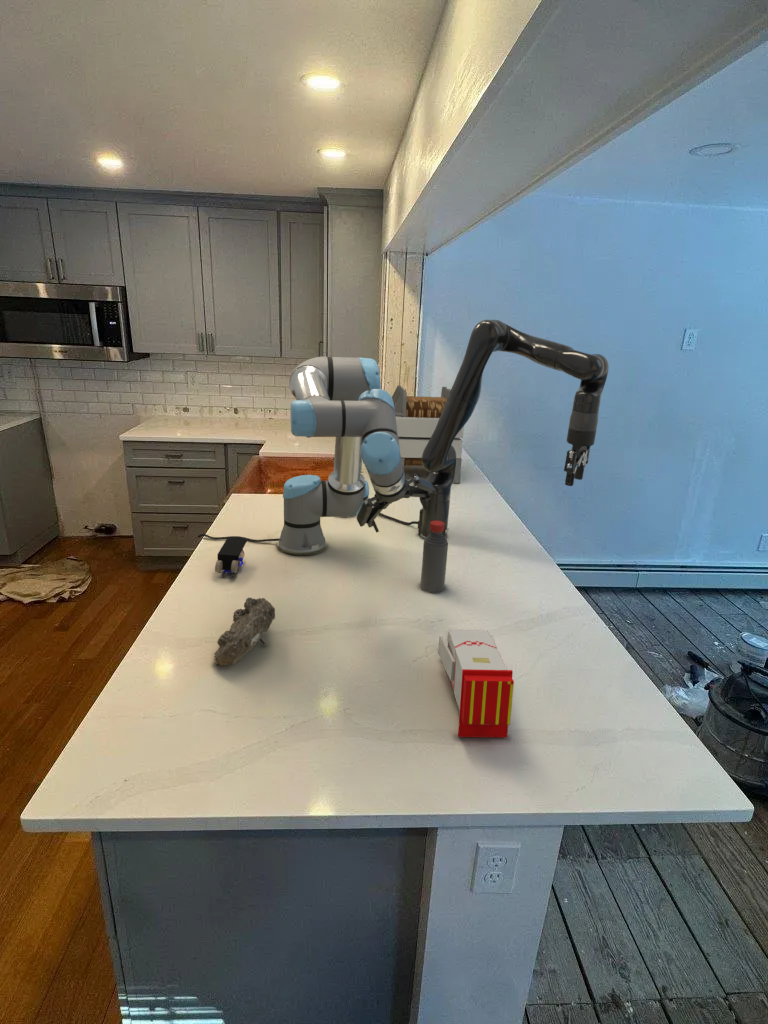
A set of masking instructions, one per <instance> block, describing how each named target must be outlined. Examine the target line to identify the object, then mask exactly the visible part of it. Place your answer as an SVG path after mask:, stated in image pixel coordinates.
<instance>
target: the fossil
mask: <svg viewBox="0 0 768 1024" xmlns="http://www.w3.org/2000/svg"><path fill="white" fill-rule="evenodd" d="M243 607H244V608H238V609H235V610H234V612H233V615H232V621H233V623H232V624H231V625H230V627H229V630H225V631H224V633H222V634H221V635H220V636H219V637H218V639H217V645H218V646H219V647H218V648H217V650H215V652H214V663H215V664H216V665H220V666H221V667H225V666H228V665H232V664H236V663H237V662H238V661H240V659H241V658H243V657H244V656H245V655H247V653H248V652H249V651H251V650H252V649H253V648H254V647H255V646H256V644H257V642H258V641H259V642H261V644H262V645H265V644H266V642H264V640H263V638H262V636H263V635H264V634H265V633H267V632H268V630H269V629H270V627H271V624H272V623H273V621H274V620H275V618H276V609H275V607H274V606H273V605H272V603H271V602H269V601H268V600H267V599H266V598H264V597H261V598H260V597H259V598H253V597H247V598H246V599H245V602H244V604H243Z"/></svg>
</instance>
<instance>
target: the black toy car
mask: <svg viewBox="0 0 768 1024" xmlns="http://www.w3.org/2000/svg"><path fill="white" fill-rule="evenodd" d="M247 542H248V540H247V539H241V538H227V539H225V541H224V543H223V544H222V546H221V547H220V549H219V551H218V552H217V560H216V562H215V564H214V572H215V573H221V577H222V578H224V577H225V576H226V574H227V573H230V574H231V573H232V574H231V578H234V577H235V575H236V573H237V572H239V571H240V567H242V566H243V565H244V564H245V562H244V558H245V551H244V547H245V546H246V544H247Z"/></svg>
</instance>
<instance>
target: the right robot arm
mask: <svg viewBox="0 0 768 1024" xmlns="http://www.w3.org/2000/svg"><path fill="white" fill-rule="evenodd" d="M467 343H468V344H467V347H466V350H465V354H464V357H463V360H462V363H461V364H460V367H459V370H458V372H457V374H456V377H455V379H454V382H453V384H452V386H451V387H450V390H451V391H450V393H449V395H448V398H447V400H446V403H445V406H444V408H443V411H442V413H441V416H440V418H439V421H438V423H437V426H436V428H435V430H434V432H433V434H432V436H431V438H430V440H429V442H428V444H427V445H426V447H425V449H424V451H423V454H422V464H423V466H422V467H423V468H424V470H425V471H427V472H428V473H429V474H428V476H427V477H426V478H425V480H427V481H429V482H431V483H432V485H433V486H434V488H435V490H436V491H435V492H434V493H430V494H429V495H430V497H431V498H430V499H429V500H427V501H426V504H427V509H426V510H424V508H423V506H421V508H420V509H419V516H418V520H416V521H415V520H412V521H409V522H408V521H403V520H401V519H398V518H395V517H394V516H393V517H392V516H389V515H387V514H384V513H382V512H380V513H379V515H378V516H381V517H383V518H385V519H388V520H391V521H394V522H397V523H399V524H402V525H406V526H411V525H417V535H418V536H420V538H421V539H424V540H425V538H426V537H427V536H428V535H429V534H431V532H432V531H431V530H430V523H431V521H442V522H444V531H443V532H441V533H442V534H443V535H444V537H445V538H446V539H447V538H448V532H449V527H448V525H449V517H450V516H449V514H450V504H451V494H452V493H451V491H452V485H453V484H454V483H453V481H454V476H455V468H456V451H455V449H454V447H453V446H452V445H451V444H452V442H453V440H454V438H455V437H456V435H457V434H458V433H459V431H460V430H461V429H462V428H463V426H464V427H465V425H466V424H467V423H468V421H469V420H470V418H471V417H472V415H473V414H474V411H475V409H476V407H477V404H478V402H479V400H480V397H481V392H482V381H483V375H484V371H485V368H486V366H487V364H488V362H489V359H490V358H491V356H492V354H493V353H495V352H505V353H511V354H515V355H518V356H521V357H524V358H526V359H528V360H530V361H531V362H533V363H535V364H538V365H540V366H542V367H545V368H549V369H552V370H555V371H559V372H562V373H564V374H566V375H568V376H571V377H573V378H575V379H577V380H580V383H579V387H578V389H577V390H576V391H575V394H574V397H573V403H572V410H571V414H570V417H569V422H568V429H567V436H566V442H567V444H569V445H571V446H572V447H571V449H570V450H569V449H568V450H567V451H566V456H565V462H564V468H563V471H564V472H565V473H566V475H565V481H564V485H565V486H567V487H573V486H574V483H575V480H579V481H582V480H583V478H584V472H585V468H586V467H587V465H588V463H589V458H590V451H591V447H593V446H594V444H595V441H596V436H597V435H596V434H597V430H598V423H599V412H600V406H601V400H602V394H603V392H604V389H605V385H606V382H607V379H608V375H609V367H610V366H609V361H608V359H607V358H606V356H605V355H603V354H602V353H601V354H600V353H592V354H591V353H587V352H583V351H579V350H576V349H574V348H573V347H572V346H569V345H566V344H563V343H560V342H556V341H552V340H550V339H545V338H542V337H537V336H534V335H531V334H528V333H526V332H523V331H521V330H518V329H517V328H514V326H513V327H512V326H510V325H509V324H507V323H505V322H503V321H501V320H499V319H483V320H481V321H479V322H478V323H476V324H475V326H474V328H473V329H472V331H471V333H470V336H469V340H468V342H467Z"/></svg>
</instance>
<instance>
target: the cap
mask: <svg viewBox="0 0 768 1024" xmlns="http://www.w3.org/2000/svg"><path fill="white" fill-rule="evenodd" d="M430 530H431V531H433V532H443V531H444V522H442V521H431V523H430Z"/></svg>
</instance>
